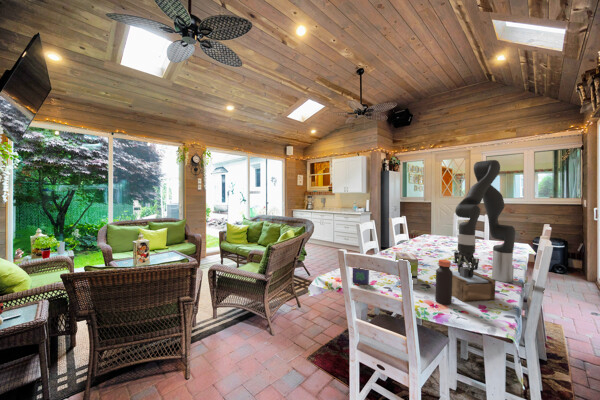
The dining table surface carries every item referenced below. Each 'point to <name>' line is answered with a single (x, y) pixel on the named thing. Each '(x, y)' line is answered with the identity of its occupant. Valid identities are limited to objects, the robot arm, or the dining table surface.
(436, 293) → the bottle
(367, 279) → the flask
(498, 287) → the dining table surface
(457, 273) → the cover plate
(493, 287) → the walnut box
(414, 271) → the tea box
